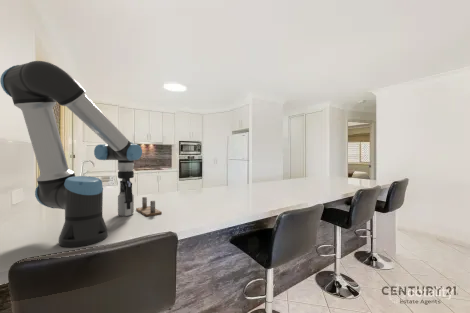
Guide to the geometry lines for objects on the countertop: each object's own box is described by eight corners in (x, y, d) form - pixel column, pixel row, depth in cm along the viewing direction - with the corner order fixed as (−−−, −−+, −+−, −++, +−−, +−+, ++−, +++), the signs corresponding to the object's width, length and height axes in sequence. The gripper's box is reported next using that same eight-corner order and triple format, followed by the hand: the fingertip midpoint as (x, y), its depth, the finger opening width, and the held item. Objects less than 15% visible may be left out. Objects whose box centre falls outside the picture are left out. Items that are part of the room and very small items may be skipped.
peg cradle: (161, 214, 116) (161, 200, 116) (146, 216, 111) (146, 202, 111) (150, 208, 129) (150, 196, 129) (136, 210, 124) (136, 197, 124)
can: (114, 215, 113) (114, 192, 113) (127, 212, 120) (127, 190, 120) (123, 217, 110) (123, 194, 110) (136, 213, 116) (136, 191, 116)
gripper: (139, 171, 109) (139, 216, 110) (128, 169, 125) (128, 208, 125) (123, 172, 105) (123, 219, 105) (113, 169, 120) (113, 210, 120)
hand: (125, 213), depth 115 cm, fingers closed on can, 7 cm apart
